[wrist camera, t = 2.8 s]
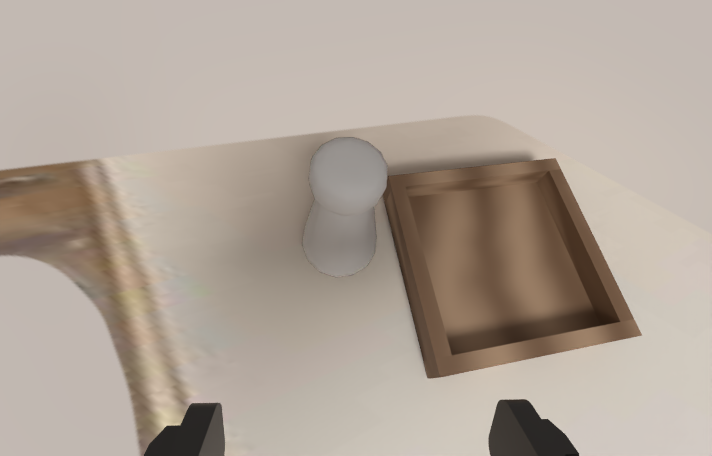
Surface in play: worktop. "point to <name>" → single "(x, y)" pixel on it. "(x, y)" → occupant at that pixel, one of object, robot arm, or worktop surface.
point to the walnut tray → (500, 266)
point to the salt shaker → (344, 205)
